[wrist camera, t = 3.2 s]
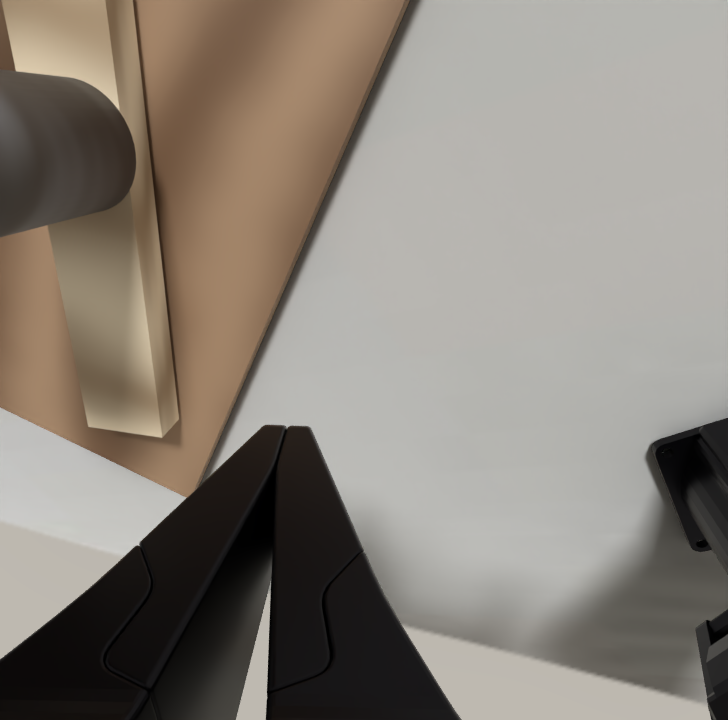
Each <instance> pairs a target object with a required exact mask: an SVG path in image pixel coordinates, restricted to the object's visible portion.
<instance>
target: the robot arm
mask: <svg viewBox="0 0 728 720" xmlns="http://www.w3.org/2000/svg"><path fill="white" fill-rule="evenodd" d="M666 448H670V450H669V451H667V452H664V453H662V450H664V449H666ZM652 452H653V455H654V458H655V460H656V463H657V465H658V468H659V470H660V473H661V475H662V478H663V480H664V483H665V485H666V488H667V491H668V493H669V496H670V498H671V501H672V503H673V506H674V508H675V511H676V513H677V516H678V519H679V521H680V524H681V526H682V529H683V531H684V534H685V536H686V539H687V541H688V543H689V545H690V546H691V548H692V549H693V550H695V551H699V552H703V551H708V550H713V552H714V553H715V555H716V556H717V558H718V560H719V561H720V563H721V565H722V566H723V568H724V570H725V571H726V573H727V574H728V418H726V419H723V420H720V421H716V422H713V423H710V424H707V425H704V426H701V427H697V428H694V429H691V430H688V431H685V432H681V433H678V434H675V435H672V436H669V437H665V438H662V439H660V440H657V441H656V442H655V443H654V444H653V446H652ZM699 540H702V541H699ZM139 545H140V546H135V547H134V548H133V549H132V550H131V551H130V552H129V553H128V554H127V555H126V556H124V557H123V558H122V559H121V560H120V561H119V562H118V563H117V564H116V565H115V566H114V567H113V568H111V569H110V570H109V571H108V572H107V573H106V574H105V575H104V576H102V577H101V578H100V579H99V580H98V581H97V582H96V583H95V584H94V585H92V586H91V587H90V588H89V589H88V590H86V591H85V592H84V593H83V594H82V595H80V596H79V597H78V598H77V599H76V600H74V601H73V602H72V603H71V604H69V605H68V606H67V607H66V608H65V609H63V610H62V611H61V612H60V613H58V614H57V615H56V616H55V617H54V618H52V619H51V620H50V621H49V622H47V623H46V624H45V625H43V626H42V627H41V628H40V629H38V630H37V631H36V632H34V633H33V634H32V635H31V636H29V637H28V638H27V639H26V640H24V641H23V642H22V643H21V644H19V645H18V646H17V647H16V648H14V649H13V650H12V651H10V652H9V653H8V654H7V655H5V656H4V657H3V658H1V659H0V720H236V716H237V712H238V708H239V704H240V700H241V696H242V692H243V688H244V684H245V680H246V676H247V672H248V668H249V665H250V660H251V656H252V653H253V649H254V645H255V641H256V637H257V633H258V629H259V625H260V621H261V617H262V613H263V609H264V605H265V600H266V597H267V593H268V589H269V585H270V581H271V601H270V628H269V629H270V630H269V656H268V682H267V683H268V684H267V697H268V698H267V708H266V720H461V718H460V717H459V716H458V714H457V713H456V712H455V710H454V708H453V707H452V705H451V704H450V702H449V701H448V699H447V698H446V696H445V694H444V693H443V691H442V690H441V688H440V686H439V685H438V683H437V682H436V680H435V679H434V677H433V675H432V673H431V672H430V670H429V669H428V667H427V665H426V664H425V662H424V660H423V659H422V657H421V656H420V654H419V652H418V651H417V649H416V648H415V646H414V645H413V643H412V641H411V640H410V638H409V636H408V635H407V633H406V631H405V630H404V628H403V626H402V625H401V623H400V621H399V620H398V618H397V616H396V614H395V613H394V611H393V609H392V607H391V606H390V604H389V602H388V600H387V599H386V597H385V595H384V593H383V591H382V589H381V586H380V584H379V582H378V580H377V578H376V576H375V574H374V572H373V570H372V567H371V565H370V563H369V560H368V558H367V556H366V554H365V553H364V550H363V547H362V545H361V543H360V540H359V538H358V536H357V533H356V531H355V529H354V526H353V524H352V522H351V520H350V517H349V515H348V513H347V510H346V508H345V506H344V503H343V501H342V499H341V496H340V494H339V492H338V490H337V487H336V485H335V483H334V480H333V478H332V476H331V473H330V471H329V469H328V466H327V464H326V462H325V460H324V457H323V455H322V453H321V450H320V448H319V446H318V443H317V441H316V439H315V436H314V434H313V432H312V430H311V428H310V427H308V426H289V427H288V428H286V426H284V425H265V426H263V427H262V428H261V429H260V430H258V431H257V432H256V433H255V434H254V435H253V436H252V437H251V438H250V439H249V440H248V441H247V442H246V443H245V444H244V445H243V446H241V447H240V448H239V449H238V450H237V451H236V452H235V453H234V454H233V455H232V456H231V457H230V458H229V459H228V460H227V461H226V462H224V463H223V464H222V465H221V466H220V467H219V468H218V469H217V470H216V471H215V472H214V473H213V474H212V475H211V476H210V477H209V478H208V479H206V480H205V481H204V482H203V483H202V484H201V485H200V486H199V487H198V488H197V489H196V490H195V491H194V492H193V493H192V494H191V495H189V496H188V497H187V498H186V499H185V500H184V501H183V502H182V503H181V504H180V505H179V506H178V507H177V508H176V509H175V510H174V511H172V512H171V513H170V514H169V515H168V516H167V517H166V518H165V519H164V520H163V521H162V522H161V523H160V524H159V525H158V526H157V527H156V528H154V529H153V530H152V531H151V532H150V533H149V534H148V535H147V536H146V537H145V538H144V539H143V540H142V541H141V542H140V544H139ZM696 635H697V641H698V646H699V652H700V658H701V664H702V670H703V675H704V681H705V687H706V693H707V702H708V709H709V711H710V716H711V720H728V609H727V610H726V611H725V612H723V613H722V614H720V615H719V616H718V617H716V618H715V619H713V620H712V621H709V620H706V621H705V622H703V623H702V624H701V625H699V626H698V627H697V628H696Z"/></svg>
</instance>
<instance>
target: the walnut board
mask: <svg viewBox="0 0 728 720" xmlns="http://www.w3.org/2000/svg"><path fill="white" fill-rule="evenodd" d="M409 1H410V0H133V8H134V17H135V26H136V35H137V44H138V53H139V62H140V71H141V80H142V89H143V98H144V107H145V116H146V125H147V134H148V143H149V152H150V161H151V170H152V179H153V188H154V197H155V206H156V215H157V224H158V233H159V242H160V251H161V260H162V269H163V278H164V287H165V296H166V305H167V314H168V323H169V332H170V341H171V351H172V360H173V369H174V378H175V387H176V396H177V405H178V414H179V420H178V421H177V422H176V423H175V424H174V425H173V426H172V428H171V429H170V430H169V431H168V432H167V433H166V434H165V435H164V436H163V437H162V438H160V437H154V436H147V435H140V434H133V433H127V432H120V431H113V430H106V429H100V428H93V427H88V423H87V418H86V413H85V408H84V403H83V398H82V393H81V388H80V383H79V378H78V374H77V369H76V364H75V359H74V354H73V349H72V344H71V339H70V334H69V329H68V324H67V320H66V315H65V310H64V305H63V300H62V295H61V290H60V285H59V280H58V275H57V270H56V266H55V261H54V256H53V251H52V246H51V241H50V236H49V231H48V226H47V225H46V226H42V227H39V228H35V229H31V230H27V231H23V232H19V233H15V234H12V235H8V236H4V237H0V407H1V408H3V409H5V410H7V411H9V412H11V413H13V414H15V415H17V416H19V417H21V418H24V419H26V420H28V421H30V422H32V423H34V424H36V425H38V426H40V427H42V428H44V429H46V430H48V431H50V432H52V433H55V434H57V435H59V436H61V437H63V438H65V439H67V440H69V441H71V442H73V443H75V444H77V445H79V446H81V447H83V448H86V449H88V450H90V451H92V452H94V453H96V454H98V455H100V456H102V457H104V458H106V459H108V460H110V461H112V462H114V463H117V464H119V465H121V466H123V467H125V468H127V469H129V470H131V471H133V472H135V473H137V474H139V475H141V476H143V477H146V478H148V479H150V480H152V481H154V482H156V483H158V484H160V485H162V486H164V487H166V488H168V489H170V490H172V491H174V492H177V493H179V494H181V495H183V496H185V497H188V496H189V495H191V494H192V493H193V492H194V491H195V490H196V489H197V488H198V487H199V485H200V483H201V480H202V478H203V476H204V473H205V471H206V469H207V466H208V464H209V462H210V460H211V457H212V455H213V453H214V450H215V448H216V446H217V443H218V441H219V439H220V437H221V434H222V432H223V430H224V427H225V425H226V423H227V420H228V418H229V416H230V413H231V411H232V409H233V407H234V404H235V402H236V400H237V397H238V395H239V393H240V390H241V388H242V386H243V384H244V381H245V379H246V377H247V374H248V372H249V370H250V367H251V365H252V363H253V361H254V358H255V356H256V354H257V351H258V349H259V347H260V344H261V342H262V340H263V338H264V335H265V333H266V331H267V328H268V326H269V324H270V321H271V319H272V317H273V315H274V312H275V310H276V308H277V305H278V303H279V301H280V298H281V296H282V294H283V292H284V289H285V287H286V285H287V282H288V280H289V278H290V275H291V273H292V271H293V268H294V266H295V264H296V262H297V259H298V257H299V255H300V252H301V250H302V248H303V245H304V243H305V241H306V239H307V236H308V234H309V232H310V229H311V227H312V225H313V222H314V220H315V218H316V216H317V213H318V211H319V209H320V206H321V204H322V202H323V199H324V197H325V195H326V193H327V190H328V188H329V186H330V183H331V181H332V179H333V176H334V174H335V172H336V170H337V167H338V165H339V163H340V160H341V158H342V156H343V153H344V151H345V149H346V147H347V144H348V142H349V140H350V137H351V135H352V133H353V130H354V128H355V126H356V123H357V121H358V119H359V117H360V114H361V112H362V110H363V107H364V105H365V103H366V100H367V98H368V96H369V94H370V91H371V89H372V87H373V84H374V82H375V80H376V77H377V75H378V73H379V71H380V68H381V66H382V64H383V61H384V59H385V57H386V54H387V52H388V50H389V48H390V45H391V43H392V41H393V38H394V36H395V34H396V31H397V29H398V27H399V25H400V22H401V20H402V18H403V15H404V13H405V11H406V8H407V6H408V4H409ZM0 69H1V70H10V71H16V69H15V64H14V59H13V54H12V49H11V45H10V40H9V35H8V30H7V25H6V20H5V15H4V10H3V5H2V0H0Z"/></svg>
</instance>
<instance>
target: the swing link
mask: <svg viewBox="0 0 728 720" xmlns="http://www.w3.org/2000/svg"><path fill="white" fill-rule="evenodd" d="M2 5H3V10H4V15H5V20H6V25H7V30H8V35H9V40H10V45H11V49H12V54H13V59H14V64H15V69H16V71H10V70H1V69H0V237H4V236H8V235H12V234H15V233H19V232H23V231H27V230H31V229H35V228H39V227H42V226H46V225H47V226H48V231H49V236H50V241H51V246H52V251H53V256H54V261H55V266H56V270H57V275H58V280H59V285H60V290H61V295H62V300H63V305H64V310H65V315H66V320H67V324H68V329H69V334H70V339H71V344H72V349H73V354H74V359H75V364H76V369H77V374H78V378H79V383H80V388H81V393H82V398H83V403H84V408H85V413H86V418H87V423H88V427H93V428H100V429H106V430H113V431H120V432H127V433H133V434H140V435H147V436H154V437H160V438H162V437H163V436H164V435H165V434H166V433H167V432H168V431H169V430H170V429H171V428H172V426H173V425H174V424H175V423H176V422H177V421H178V420H179V414H178V405H177V396H176V387H175V378H174V369H173V360H172V351H171V341H170V332H169V323H168V314H167V305H166V296H165V287H164V278H163V269H162V260H161V251H160V242H159V233H158V224H157V215H156V206H155V197H154V188H153V179H152V170H151V161H150V152H149V143H148V134H147V125H146V116H145V107H144V98H143V89H142V80H141V71H140V62H139V53H138V44H137V35H136V26H135V17H134V8H133V0H2Z"/></svg>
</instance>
